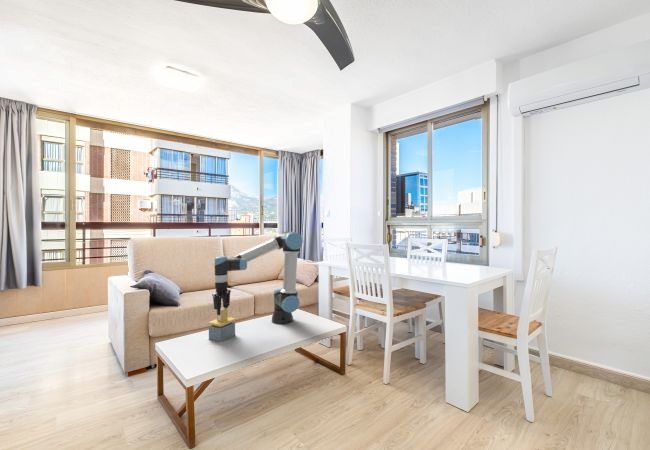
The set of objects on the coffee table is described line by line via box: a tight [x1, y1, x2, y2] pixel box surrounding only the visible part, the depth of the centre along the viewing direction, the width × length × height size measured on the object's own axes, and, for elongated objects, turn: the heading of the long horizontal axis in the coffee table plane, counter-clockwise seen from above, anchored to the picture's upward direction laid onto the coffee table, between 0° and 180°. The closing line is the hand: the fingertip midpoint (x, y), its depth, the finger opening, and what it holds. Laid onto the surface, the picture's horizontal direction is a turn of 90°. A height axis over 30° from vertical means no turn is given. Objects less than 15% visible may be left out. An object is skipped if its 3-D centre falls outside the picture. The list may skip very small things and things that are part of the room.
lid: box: [207, 307, 237, 327], centre depth 192 cm, size 13×11×9 cm
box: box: [208, 321, 236, 343], centre depth 192 cm, size 12×10×8 cm
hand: (222, 318), depth 192 cm, fingers closed on lid, 3 cm apart
